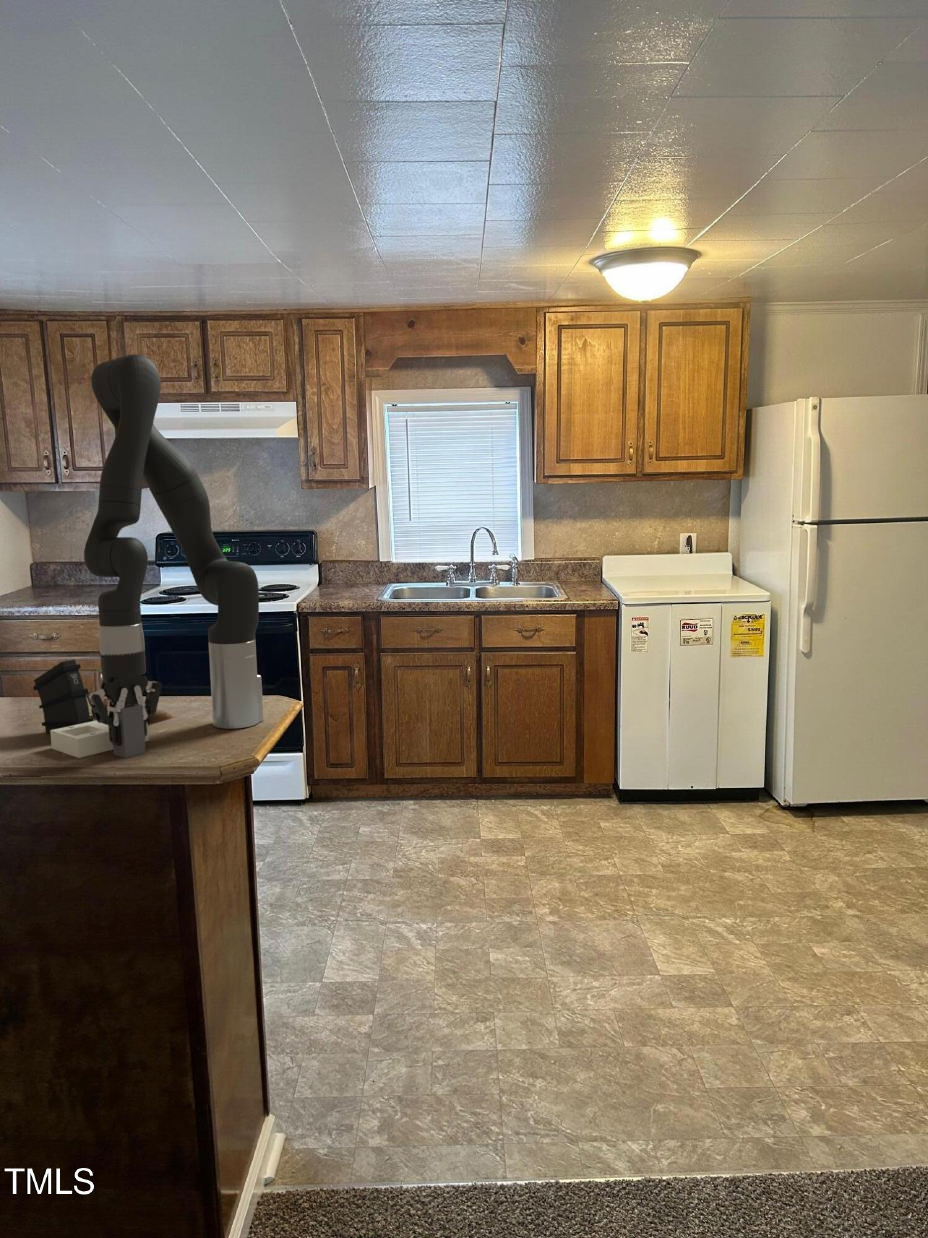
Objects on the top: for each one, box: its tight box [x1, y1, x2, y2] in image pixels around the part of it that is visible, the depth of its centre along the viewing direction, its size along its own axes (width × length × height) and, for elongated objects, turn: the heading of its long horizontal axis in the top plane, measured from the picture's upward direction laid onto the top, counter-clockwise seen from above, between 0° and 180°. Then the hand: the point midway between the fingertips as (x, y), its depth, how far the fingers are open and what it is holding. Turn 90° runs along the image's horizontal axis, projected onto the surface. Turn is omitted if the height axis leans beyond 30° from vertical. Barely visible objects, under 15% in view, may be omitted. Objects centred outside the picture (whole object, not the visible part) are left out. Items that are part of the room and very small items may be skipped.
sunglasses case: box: [90, 697, 176, 726], centre depth 192 cm, size 18×7×7 cm, turn 59°
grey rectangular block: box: [113, 703, 146, 759], centre depth 163 cm, size 4×4×9 cm
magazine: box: [32, 659, 94, 735], centre depth 177 cm, size 4×13×15 cm, turn 58°
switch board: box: [50, 719, 150, 759], centre depth 170 cm, size 14×10×4 cm
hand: (128, 741), depth 164 cm, fingers closed on grey rectangular block, 4 cm apart
